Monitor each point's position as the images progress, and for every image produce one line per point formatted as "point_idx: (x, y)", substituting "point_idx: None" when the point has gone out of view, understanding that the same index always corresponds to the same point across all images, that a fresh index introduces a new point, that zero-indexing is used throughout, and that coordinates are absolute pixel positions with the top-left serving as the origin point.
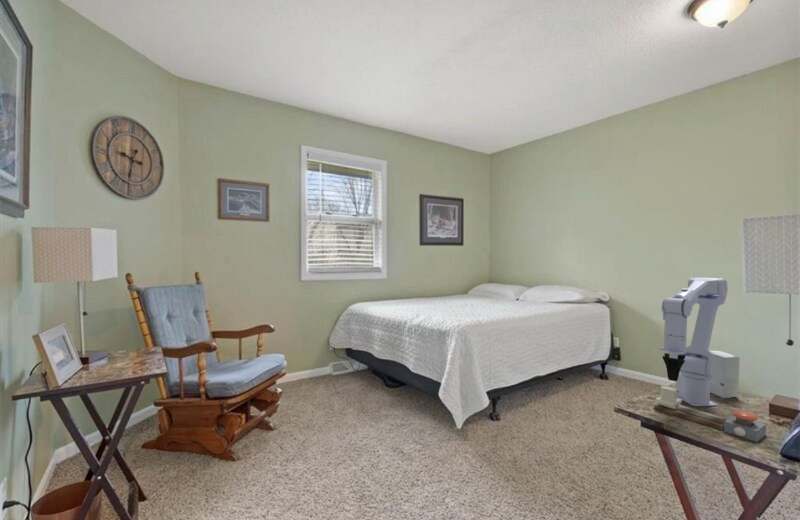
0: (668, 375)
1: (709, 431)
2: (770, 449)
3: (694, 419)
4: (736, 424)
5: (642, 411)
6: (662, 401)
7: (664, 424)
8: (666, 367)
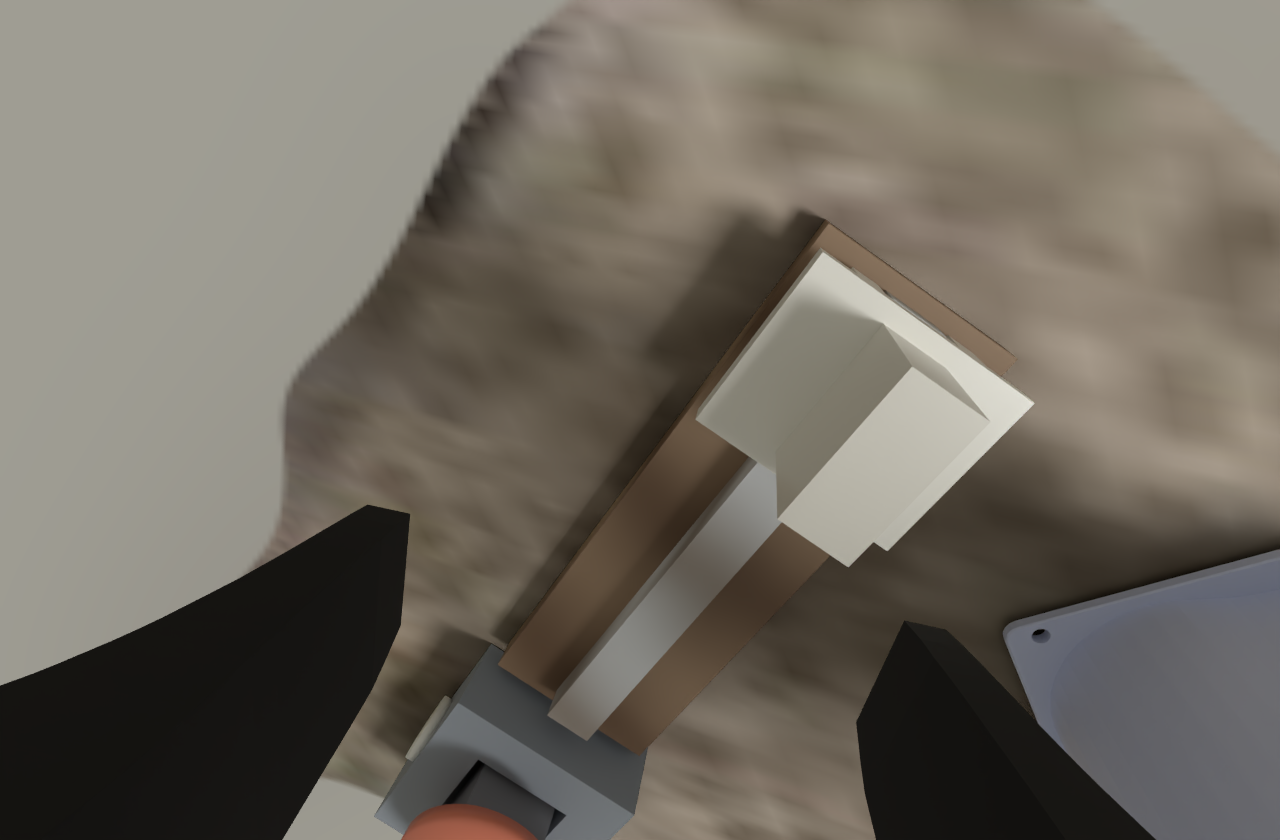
0: (298, 554)
1: (445, 551)
2: (342, 769)
3: (602, 520)
4: (431, 753)
5: (685, 64)
6: (767, 319)
7: (416, 240)
8: (80, 656)
